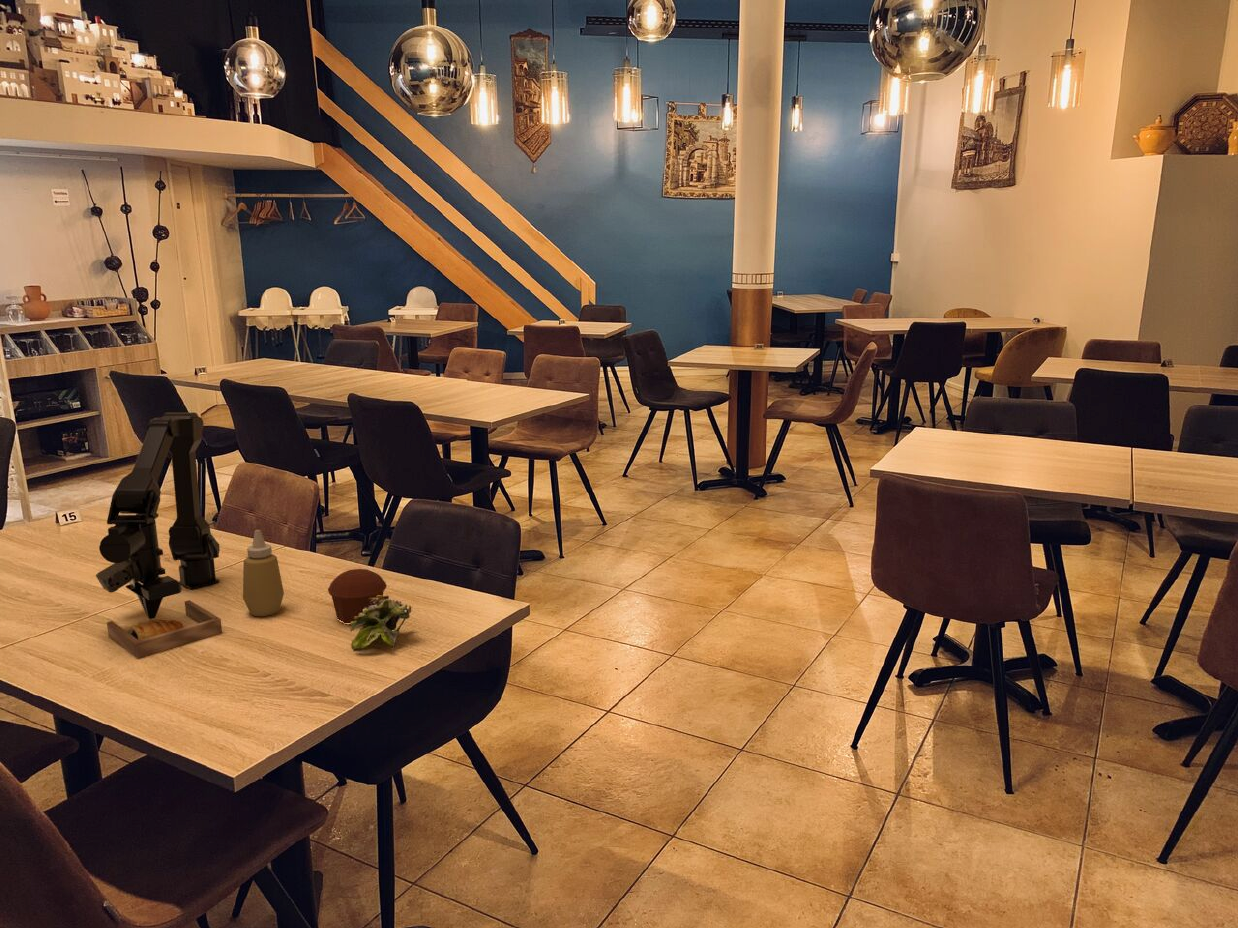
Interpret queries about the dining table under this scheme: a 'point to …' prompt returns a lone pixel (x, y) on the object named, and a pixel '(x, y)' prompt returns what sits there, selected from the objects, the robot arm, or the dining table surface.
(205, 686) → the dining table surface
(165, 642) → the box
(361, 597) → the muffin
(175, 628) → the pastry
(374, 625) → the green leafy plant
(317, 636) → the dining table surface
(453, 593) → the dining table surface
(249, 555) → the squeeze bottle
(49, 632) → the dining table surface
